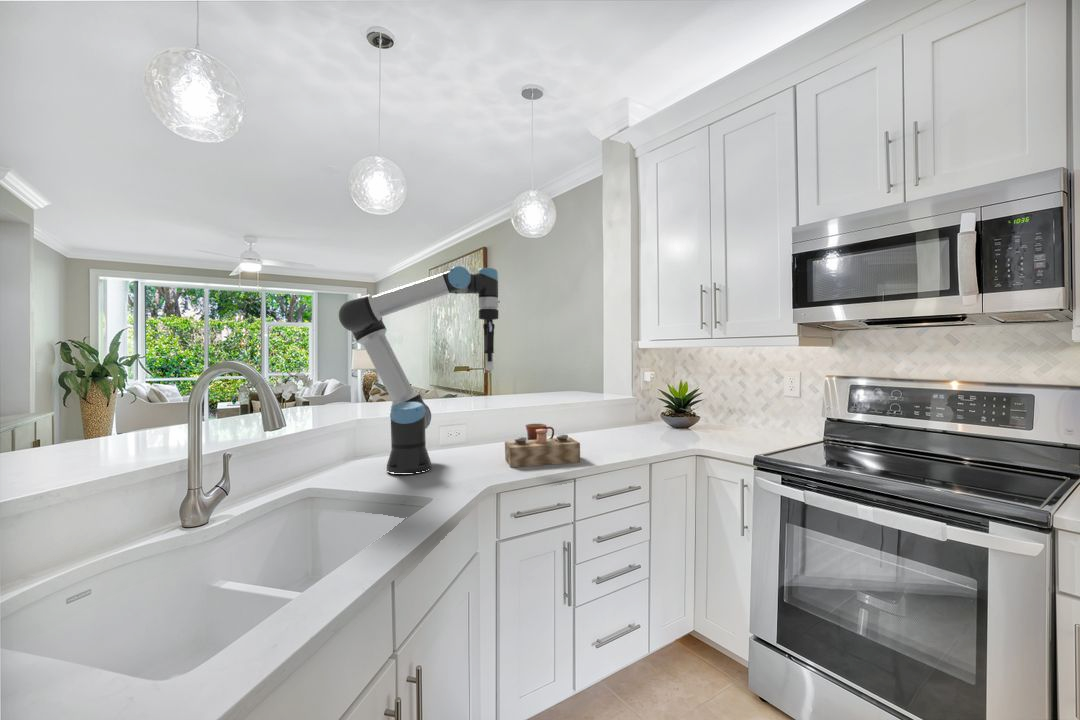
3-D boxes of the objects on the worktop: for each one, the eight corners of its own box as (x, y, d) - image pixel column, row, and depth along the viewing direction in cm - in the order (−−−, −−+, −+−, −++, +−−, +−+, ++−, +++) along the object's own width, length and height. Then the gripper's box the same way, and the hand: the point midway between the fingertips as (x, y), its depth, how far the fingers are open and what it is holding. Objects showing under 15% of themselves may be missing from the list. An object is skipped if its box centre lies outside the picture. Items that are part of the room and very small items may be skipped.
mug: (524, 451, 192) (524, 426, 192) (527, 447, 200) (526, 423, 200) (553, 451, 191) (553, 426, 190) (555, 447, 199) (554, 423, 199)
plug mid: (537, 455, 172) (537, 431, 172) (534, 452, 177) (534, 429, 177) (549, 454, 173) (548, 430, 173) (546, 451, 178) (545, 428, 178)
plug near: (516, 463, 171) (515, 439, 171) (514, 460, 175) (513, 437, 175) (528, 462, 172) (527, 438, 172) (525, 460, 176) (525, 436, 176)
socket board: (510, 467, 166) (510, 447, 166) (505, 459, 178) (504, 441, 178) (580, 462, 172) (579, 443, 172) (570, 455, 184) (570, 437, 184)
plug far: (558, 460, 174) (558, 436, 174) (555, 457, 179) (555, 434, 178) (569, 459, 175) (569, 436, 175) (566, 457, 180) (566, 434, 179)
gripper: (500, 307, 175) (501, 370, 175) (496, 310, 188) (496, 369, 188) (480, 307, 173) (481, 371, 174) (477, 310, 186) (478, 369, 186)
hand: (489, 370), depth 181 cm, fingers closed
